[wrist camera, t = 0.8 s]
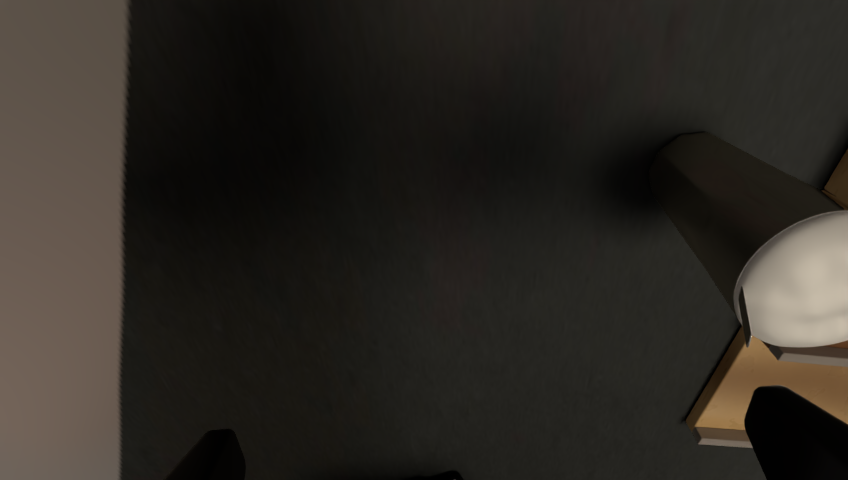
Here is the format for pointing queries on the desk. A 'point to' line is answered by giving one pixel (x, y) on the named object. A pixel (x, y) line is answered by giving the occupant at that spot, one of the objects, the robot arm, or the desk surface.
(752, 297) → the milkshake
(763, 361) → the rack
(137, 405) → the desk surface
